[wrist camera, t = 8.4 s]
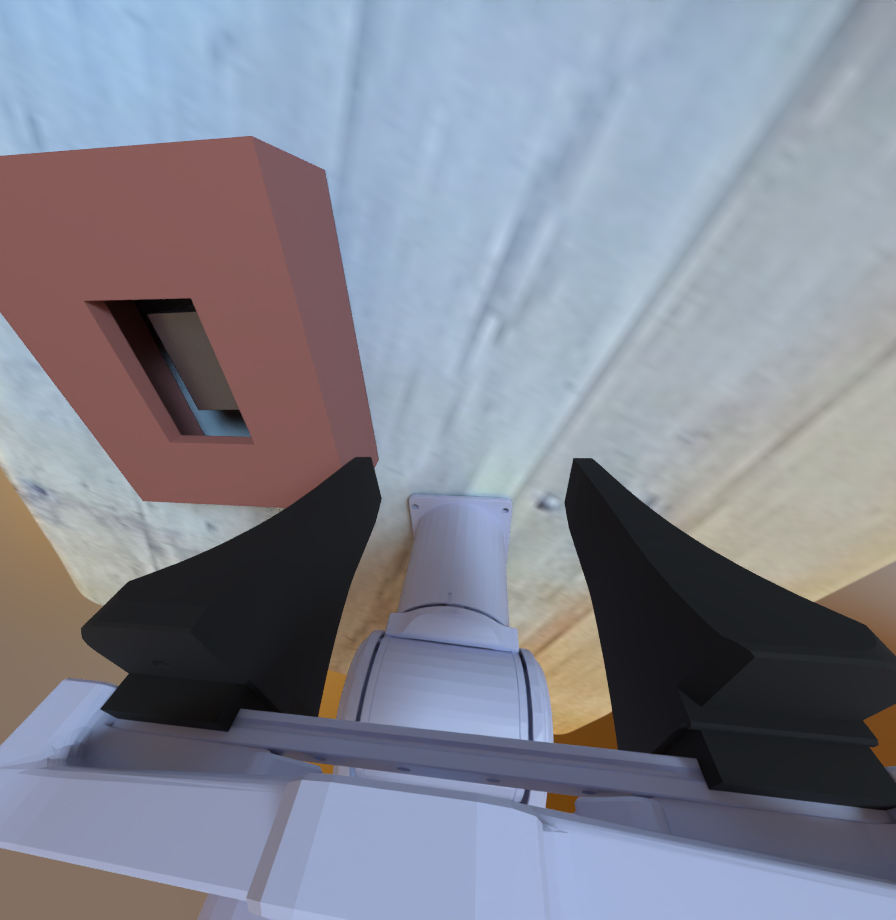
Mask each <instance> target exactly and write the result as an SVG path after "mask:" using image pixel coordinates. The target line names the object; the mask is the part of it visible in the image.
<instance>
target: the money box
mask: <svg viewBox="0 0 896 920" xmlns="http://www.w3.org/2000/svg"><path fill="white" fill-rule="evenodd" d="M179 298H191V300H192V302H193V304H194V307H195V309H196V311H197V313H198V316H199V318H200V320H201V323H202V325H203V327H204V329H205V332H206V334H207V336H208V339H209V341H210V343H211V345H212V348H213V350H214V352H215V355H216V357H217V359H218V362H219V364H220V366H221V368H222V371H223V373H224V375H225V378H226V380H227V382H228V384H229V387H230V389H231V391H232V394H233V396H234V398H235V400H236V403H237V405H238V407H239V410H240V412H241V414H242V417H243V419H244V421H245V423H246V426H247V428H248V430H249V433H250V435H251V437H236V436H205V435H204V433H203V431H202V429H201V428H200V426H199V424H198V422H197V420H196V418H195V416H194V414H193V412H192V411H191V409H190V407H189V405H188V403H187V401H186V399H185V397H184V395H183V394H182V392H181V390H180V388H179V386H178V384H177V382H176V380H175V378H174V377H173V375H172V373H171V371H170V369H169V367H168V365H167V363H166V361H165V360H164V358H163V356H162V354H161V352H160V350H159V348H158V346H157V344H156V343H155V341H154V339H153V337H152V335H151V333H150V331H149V329H148V327H147V326H146V324H145V322H144V320H143V318H142V316H141V314H140V312H139V310H138V309H137V307H136V305H135V303H134V301H133V300H139V299H179ZM0 312H1V314H2V315H3V316H4V318H5V319H6V320H7V322H8V323H9V324H10V326H11V327H12V328H13V329H14V331H15V332H16V333H17V335H18V336H19V337H20V339H21V340H22V341H23V343H24V344H25V345H26V347H27V348H28V349H29V351H30V352H31V353H32V355H33V356H34V357H35V359H36V360H37V361H38V363H39V364H40V365H41V367H42V368H43V369H44V371H45V372H46V373H47V375H48V376H49V377H50V379H51V380H52V381H53V382H54V384H55V385H56V386H57V388H58V389H59V390H60V392H61V393H62V394H63V396H64V397H65V398H66V400H67V401H68V402H69V404H70V405H71V406H72V408H73V409H74V410H75V412H76V413H77V414H78V416H79V417H80V418H81V420H82V421H83V422H84V424H85V425H86V426H87V428H88V429H89V430H90V431H91V433H92V434H93V435H94V437H95V438H96V439H97V441H98V442H99V443H100V445H101V446H102V447H103V449H104V450H105V451H106V453H107V454H108V455H109V457H110V458H111V459H112V461H113V462H114V463H115V465H116V466H117V467H118V469H119V470H120V471H121V473H122V474H123V475H124V477H125V478H126V479H127V481H128V482H129V483H130V484H131V486H132V487H133V488H134V490H135V491H136V492H137V494H138V495H139V496H140V498H141V499H142V500H143V501H153V502H174V503H196V504H217V505H238V506H260V507H281V508H287V507H289V506H290V505H292V504H293V503H294V502H296V501H297V500H299V499H300V498H302V497H303V496H304V495H306V494H307V493H309V492H310V491H311V490H313V489H314V488H315V487H317V486H318V485H319V484H321V483H322V482H323V481H325V480H326V479H327V478H328V477H330V476H331V475H332V474H334V473H335V472H336V471H337V470H339V469H340V468H341V467H342V466H344V465H345V464H346V463H348V462H349V461H350V460H352V459H353V458H355V457H372V462H373V466H374V468H375V466H376V464H377V462H378V460H379V458H378V452H377V447H376V442H375V436H374V431H373V426H372V420H371V415H370V409H369V404H368V399H367V393H366V388H365V383H364V377H363V372H362V367H361V361H360V356H359V350H358V345H357V340H356V334H355V329H354V324H353V318H352V313H351V308H350V302H349V297H348V291H347V286H346V281H345V275H344V270H343V265H342V259H341V254H340V248H339V243H338V238H337V232H336V227H335V222H334V216H333V211H332V206H331V200H330V195H329V189H328V184H327V179H326V173H325V170H324V169H321V168H319V167H317V166H315V165H313V164H311V163H309V162H306V161H304V160H302V159H300V158H298V157H296V156H294V155H291V154H289V153H287V152H285V151H283V150H281V149H279V148H276V147H274V146H272V145H270V144H268V143H266V142H263V141H261V140H259V139H257V138H255V137H253V136H245V137H233V138H220V139H208V140H195V141H182V142H170V143H157V144H145V145H132V146H120V147H107V148H95V149H82V150H69V151H57V152H44V153H32V154H19V155H7V156H0Z"/></svg>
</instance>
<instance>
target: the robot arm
mask: <svg viewBox="0 0 896 920" xmlns="http://www.w3.org/2000/svg"><path fill="white" fill-rule="evenodd" d="M381 499H382V498H381V494H380V490H379V486H378V482H377V478H376V474H375V470H374V466H373V462H372V457H355V458H353V459H352V460H350V461H349V462H348V463H346V464H345V465H344V466H342V467H341V468H340V469H339V470H337V471H336V472H335V473H334V474H332V475H331V476H330V477H328V478H327V479H326V480H325V481H323V482H322V483H321V484H319V485H318V486H317V487H315V488H314V489H313V490H311V491H310V492H309V493H307V494H306V495H304V496H303V497H302V498H300V499H299V500H297V501H296V502H294V503H293V504H292V505H290V506H289V507H287V508H286V509H284V510H283V511H281V512H279V513H278V514H276V515H275V516H273V517H271V518H269V519H268V520H266V521H264V522H263V523H261V524H259V525H258V526H256V527H254V528H252V529H250V530H248V531H246V532H244V533H242V534H240V535H238V536H236V537H235V538H233V539H231V540H229V541H227V542H225V543H223V544H221V545H218V546H216V547H214V548H212V549H210V550H208V551H205V552H203V553H201V554H198V555H196V556H194V557H191V558H189V559H187V560H184V561H182V562H179V563H177V564H174V565H172V566H169V567H166V568H164V569H161V570H158V571H156V572H153V573H150V574H148V575H145V576H142V577H140V578H137V579H134V580H131V581H129V582H128V583H127V584H125V585H124V586H123V587H122V588H121V589H120V590H119V591H118V592H117V593H116V594H115V595H114V596H113V597H112V598H111V599H110V600H109V601H108V602H107V603H106V604H105V605H104V606H103V607H102V608H101V609H100V610H99V611H98V612H97V613H96V614H95V615H94V616H93V617H92V618H91V619H90V620H89V621H88V622H87V623H86V624H85V625H84V626H83V627H82V628H81V634H82V638H83V640H84V641H85V642H86V643H87V645H89V646H90V647H91V648H93V649H94V650H95V651H97V652H98V653H99V654H101V655H103V656H104V657H105V658H107V659H109V660H110V661H111V662H113V663H114V664H116V665H117V666H119V667H120V668H122V669H123V670H125V671H126V672H128V673H129V674H128V676H127V677H126V678H125V679H124V680H123V682H122V683H121V684H120V685H119V686H117V685H114V684H111V683H107V682H102V681H92V680H83V679H73V678H68V679H65V680H63V681H62V682H61V683H60V684H59V685H58V686H57V687H56V688H55V689H54V690H53V691H52V692H51V693H50V694H49V695H48V697H47V698H46V699H45V700H44V701H43V702H42V703H41V704H40V705H39V706H38V707H37V708H36V709H35V710H34V711H33V712H32V713H31V714H30V715H29V716H28V717H27V719H26V720H25V721H24V722H23V723H22V724H21V725H20V726H19V727H18V728H17V729H16V730H15V731H14V732H13V733H12V734H11V735H10V736H9V737H8V738H7V739H6V741H5V742H4V743H3V744H2V745H1V746H0V848H4V849H9V850H13V851H18V852H23V853H28V854H32V855H36V856H41V857H46V858H51V859H55V860H59V861H64V862H68V863H73V864H78V865H82V866H87V867H91V868H96V869H101V870H105V871H110V872H114V873H119V874H123V875H128V876H133V877H138V878H142V879H146V880H151V881H156V882H160V883H165V884H169V885H174V886H179V887H183V888H188V889H192V890H197V891H202V892H206V893H208V895H207V897H206V900H205V902H204V904H203V907H202V909H201V911H200V914H199V917H198V919H197V920H896V766H891V767H885V768H884V766H883V765H882V764H881V762H880V761H879V760H878V758H877V757H876V756H875V754H874V753H873V752H872V750H871V749H870V748H869V747H875V746H878V740H877V738H876V737H875V736H874V734H873V733H872V732H871V730H870V729H869V728H868V727H867V725H866V724H865V723H864V722H863V720H864V719H866V718H868V717H870V716H872V715H874V714H876V713H878V712H880V711H882V710H884V709H886V708H888V707H890V706H892V705H894V704H896V656H895V655H894V654H893V653H892V652H891V651H890V650H889V649H888V648H887V647H886V645H885V644H884V643H882V641H881V640H880V639H879V638H878V637H877V636H876V635H875V634H874V633H873V632H872V631H871V630H870V629H869V628H868V627H867V626H866V625H864V624H862V623H860V622H857V621H855V620H853V619H851V618H848V617H846V616H844V615H842V614H839V613H837V612H835V611H832V610H830V609H828V608H826V607H823V606H821V605H819V604H817V603H814V602H812V601H810V600H808V599H805V598H803V597H801V596H799V595H797V594H795V593H792V592H790V591H788V590H786V589H784V588H782V587H780V586H778V585H776V584H774V583H772V582H770V581H768V580H766V579H764V578H762V577H760V576H758V575H756V574H754V573H753V572H751V571H749V570H747V569H745V568H743V567H741V566H739V565H738V564H736V563H734V562H732V561H730V560H729V559H727V558H725V557H723V556H722V555H720V554H718V553H716V552H715V551H713V550H711V549H710V548H708V547H706V546H705V545H703V544H701V543H700V542H698V541H697V540H695V539H693V538H692V537H690V536H689V535H687V534H686V533H684V532H683V531H681V530H680V529H678V528H677V527H675V526H674V525H672V524H671V523H670V522H668V521H667V520H665V519H664V518H663V517H661V516H660V515H659V514H657V513H656V512H655V511H653V510H652V509H651V508H649V507H648V506H647V505H646V504H644V503H643V502H642V501H641V500H639V499H638V498H637V497H636V496H634V495H633V494H632V493H631V492H630V491H629V490H627V489H626V488H625V487H624V486H623V485H622V484H620V483H619V482H618V481H617V480H616V479H615V478H614V477H613V476H611V475H610V474H609V473H608V472H607V471H606V470H605V469H604V468H603V467H602V466H600V465H599V464H598V463H597V462H596V461H595V460H593V459H592V458H573V463H572V468H571V473H570V478H569V483H568V488H567V493H566V498H565V508H566V514H567V520H568V525H569V529H570V533H571V536H572V539H573V542H574V545H575V548H576V551H577V555H578V558H579V561H580V564H581V567H582V570H583V573H584V576H585V579H586V582H587V585H588V589H589V592H590V596H591V600H592V604H593V609H594V613H595V618H596V623H597V628H598V633H599V638H600V643H601V648H602V653H603V658H604V664H605V670H606V675H607V681H608V687H609V693H610V699H611V705H612V712H613V718H614V725H615V732H616V737H617V745H618V750H613V749H603V748H594V747H585V746H576V745H567V744H557V743H553V724H552V713H551V704H550V698H549V692H548V687H547V682H546V679H545V675H544V672H543V670H542V668H541V666H540V665H539V663H538V662H537V661H536V659H535V658H534V656H533V654H532V653H531V651H529V650H527V649H521V648H519V646H518V633H517V629H516V628H511V627H510V625H509V609H508V593H507V576H506V561H507V551H508V542H509V533H510V524H511V515H512V501H511V499H509V498H496V497H472V496H447V495H422V494H413V495H411V496H410V497H409V508H410V515H411V522H412V530H413V537H414V544H413V548H412V552H411V556H410V560H409V564H408V568H407V573H406V577H405V581H404V585H403V589H402V593H401V597H400V601H399V605H398V609H397V613H390V615H389V619H388V622H387V626H386V630H385V631H383V630H375V631H373V632H372V633H371V634H370V635H369V637H367V638H366V639H365V640H364V641H363V642H362V643H361V644H360V646H359V647H358V649H357V651H356V653H355V655H354V658H353V660H352V663H351V665H350V668H349V671H348V674H347V677H346V680H345V684H344V688H343V691H342V695H341V699H340V703H339V707H338V712H337V718H336V719H330V718H320V717H318V714H319V709H320V704H321V699H322V695H323V690H324V685H325V680H326V675H327V671H328V667H329V663H330V659H331V654H332V650H333V646H334V642H335V638H336V634H337V630H338V627H339V623H340V619H341V616H342V612H343V608H344V605H345V602H346V598H347V595H348V591H349V588H350V585H351V582H352V579H353V576H354V574H355V571H356V569H357V566H358V564H359V562H360V559H361V557H362V554H363V552H364V549H365V547H366V545H367V542H368V540H369V537H370V535H371V532H372V530H373V527H374V525H375V522H376V519H377V515H378V511H379V507H380V503H381ZM414 504H416V505H418V506H415V505H414ZM504 508H507V510H503V509H504ZM302 761H307V762H315V763H323V764H331V765H334V768H333V774H323V773H322V771H321V768H320V767H319V766H317V765H314V764H310V763H306V762H302ZM547 792H550V793H558V794H566V795H573V796H581V797H583V798H577V800H576V802H575V807H576V812H575V813H572V814H570V813H565V812H560V811H556V810H551V809H546V808H545V807H546V797H547Z"/></svg>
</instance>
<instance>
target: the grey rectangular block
mask: <svg viewBox="0 0 896 920" xmlns="http://www.w3.org/2000/svg"><path fill="white" fill-rule="evenodd" d="M147 315H148V317H149V319H150V321H151V323H152V325H153V327H154V328H155V330H156V332H157V334H158V336H159V338H160V339H161V341H162V343H163V345H164V347H165V349H166V351H167V352H168V354H169V356H170V358H171V360H172V362H173V364H174V365H175V367H176V369H177V371H178V373H179V375H180V377H181V378H182V380H183V382H184V384H185V386H186V388H187V389H188V391H189V393H190V395H191V397H192V399H193V401H194V402H195V404H196V406H197V408H198V410H239V407H238V405H237V403H236V400H235V398H234V396H233V394H232V391H231V389H230V387H229V384H228V382H227V380H226V378H225V375H224V373H223V371H222V368H221V366H220V364H219V362H218V359H217V357H216V355H215V352H214V350H213V348H212V345H211V343H210V341H209V339H208V336H207V334H206V332H205V329H204V327H203V325H202V323H201V320H200V318H199V316H198V313H197V311H196V309H195V307H194V305H190V306H185V307H180V308H175V309H170V310H165V311H161V312H156V313H151V314H147Z"/></svg>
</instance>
